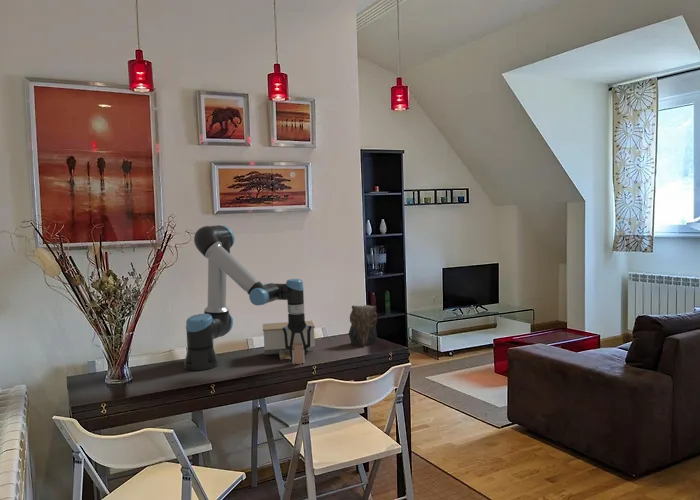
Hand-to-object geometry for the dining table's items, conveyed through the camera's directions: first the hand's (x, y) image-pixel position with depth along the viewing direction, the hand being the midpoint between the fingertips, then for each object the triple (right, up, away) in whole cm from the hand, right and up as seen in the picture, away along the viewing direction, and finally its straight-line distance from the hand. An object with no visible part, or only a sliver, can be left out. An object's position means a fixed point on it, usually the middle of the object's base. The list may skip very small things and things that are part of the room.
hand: (298, 362), depth 250 cm
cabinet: (-6, 0, +16) cm, 17 cm away
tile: (-7, 0, +10) cm, 12 cm away
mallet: (-4, 0, +6) cm, 7 cm away
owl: (+30, +3, +33) cm, 45 cm away
